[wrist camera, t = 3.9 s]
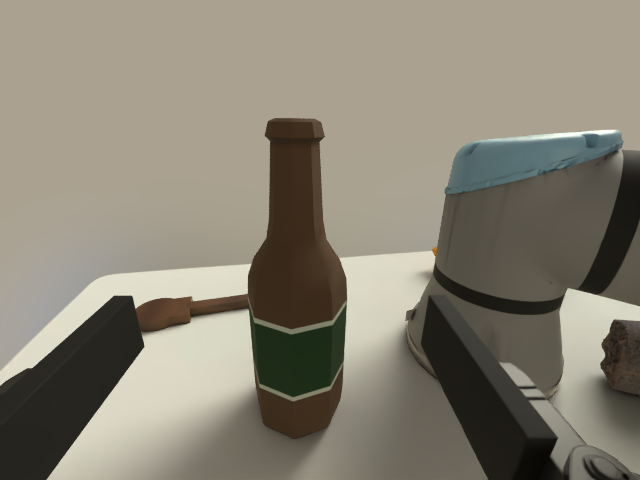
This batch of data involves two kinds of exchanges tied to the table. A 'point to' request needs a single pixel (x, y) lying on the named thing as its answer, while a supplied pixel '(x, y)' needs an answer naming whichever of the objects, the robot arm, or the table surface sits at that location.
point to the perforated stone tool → (623, 356)
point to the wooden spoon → (183, 310)
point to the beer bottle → (297, 290)
